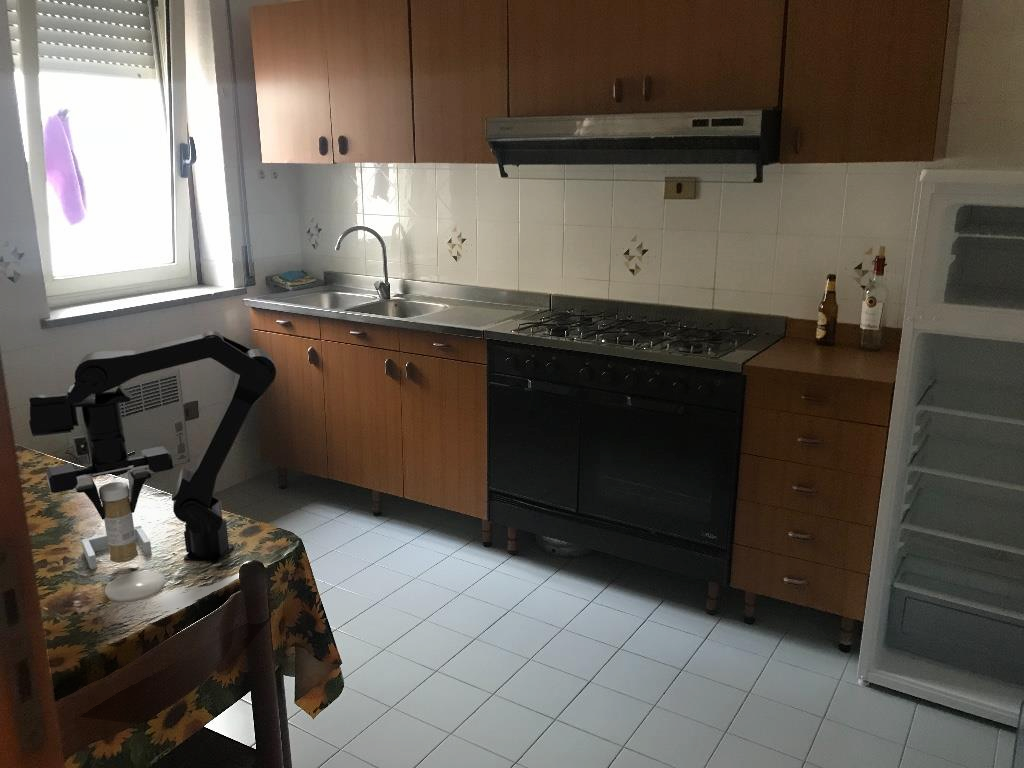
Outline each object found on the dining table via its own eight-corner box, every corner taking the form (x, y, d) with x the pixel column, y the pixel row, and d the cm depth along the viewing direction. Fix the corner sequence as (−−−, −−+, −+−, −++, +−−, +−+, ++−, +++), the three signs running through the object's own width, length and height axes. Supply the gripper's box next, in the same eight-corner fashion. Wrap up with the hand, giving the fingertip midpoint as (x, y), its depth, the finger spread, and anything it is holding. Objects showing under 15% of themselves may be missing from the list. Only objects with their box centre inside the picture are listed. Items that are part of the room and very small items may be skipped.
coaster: (175, 576, 141) (175, 572, 141) (144, 604, 132) (143, 599, 132) (127, 572, 142) (127, 568, 142) (93, 599, 134) (92, 595, 134)
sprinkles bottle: (132, 549, 147) (121, 478, 143) (142, 557, 144) (132, 485, 140) (105, 558, 144) (94, 486, 140) (116, 566, 141) (104, 493, 137)
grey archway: (83, 552, 150) (81, 539, 149) (142, 537, 156) (140, 525, 155) (91, 569, 144) (88, 556, 143) (151, 553, 149) (150, 541, 149)
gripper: (153, 407, 149) (164, 488, 153) (36, 427, 139) (51, 512, 143) (167, 423, 140) (179, 508, 144) (43, 445, 130) (59, 536, 134)
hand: (117, 515), depth 142 cm, fingers closed on sprinkles bottle, 4 cm apart
